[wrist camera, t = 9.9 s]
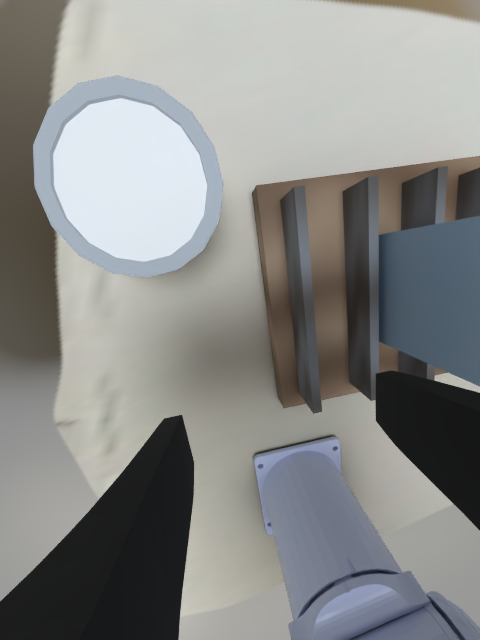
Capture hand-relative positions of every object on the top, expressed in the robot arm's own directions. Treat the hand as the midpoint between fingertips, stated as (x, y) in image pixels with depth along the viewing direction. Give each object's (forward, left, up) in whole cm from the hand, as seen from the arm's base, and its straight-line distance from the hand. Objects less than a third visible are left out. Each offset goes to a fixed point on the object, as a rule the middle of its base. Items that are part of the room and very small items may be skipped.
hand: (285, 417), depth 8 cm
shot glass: (+9, +4, -10) cm, 14 cm away
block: (+2, -10, -8) cm, 13 cm away
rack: (+2, -10, -10) cm, 14 cm away
